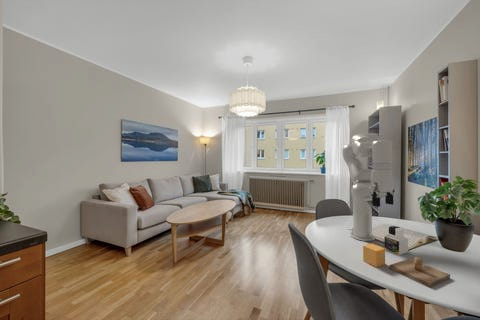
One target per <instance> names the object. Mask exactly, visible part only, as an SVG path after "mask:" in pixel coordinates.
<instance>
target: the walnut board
mask: <svg viewBox="0 0 480 320" xmlns="http://www.w3.org/2000/svg"><path fill="white" fill-rule="evenodd" d="M388 267H389V268H388V269H390V270H392V271H394V272H396V273H398V274H400V275H402V276H404V277H406V278H408V279H411V280H413V281H415V282H416V283H417V282H418V284H421V285H424V286H426V287H427V288H431V287H434V286H436V285H438V284H440V283H442V282H444V281H448V280H449V279H451V274H450V273H448V272H444V271H443V270H439V269H437V268H435V267H432V266H429V265H427V264H424V263H423V259H422V258H421V257H418V256H415V257H414V259H411V258H410V257H409V258H406V259H404V260H401V261H397V262H394V263H391V264H389V266H388Z"/></svg>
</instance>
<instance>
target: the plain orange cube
mask: <svg viewBox="0 0 480 320" xmlns="http://www.w3.org/2000/svg"><path fill="white" fill-rule="evenodd" d="M362 258H363V259H362V260H363V261H362V262H365V263H366V264H369V265H371V266H373V267H375V268H377V267H381V266H384V265H386V250H385V247H382V246H379V245H378V244H377V245H376V244H374V243H368V244H365V245H362Z"/></svg>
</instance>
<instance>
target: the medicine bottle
mask: <svg viewBox="0 0 480 320" xmlns="http://www.w3.org/2000/svg"><path fill="white" fill-rule="evenodd" d="M404 231H405V230H404V228H402V227H400V226H395V225H392V226H389V227H388V234H386V235H384V236H383V237H384V244H383V245H384V248H385V251H388V252H391V253H393V254H395V255H397V256H400V255H403V254H407V253H409V238H408V237H406V236H405V237H404V233H405V232H404Z"/></svg>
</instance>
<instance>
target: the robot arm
mask: <svg viewBox="0 0 480 320" xmlns="http://www.w3.org/2000/svg"><path fill="white" fill-rule="evenodd" d="M350 142H351V143H349V144H346V145H344V146H343V147H342V158H343V160H344V162H345V164H346V166H347V167H348V172H349V176H350V180H351V182H352V183H353V184H354V185H352V186H351V190H350V192H351V193H350V194H351V200H352V215H353V217H352V221H353V224H352V225H349V226H348V229H347V230H349V231H351V232H350V237H352V238H353V239H355V240H358V241H363V242H373V241H375V240H376V236H375V235H373V211H372V210H373V209H372V206H373V207H378V208H379V207H381V202H382V201H384V200H385V204H386V205H392V206H393V205H394V203H395V202H394V201H395V200H394V197H395V190H396V185H395V184H394V176H393V175H394V174H393V143H392V141H391V140H389V139H388V140H387V139H386V140H384V139H382V140H381V139H380V136H379V134H377V133H373V132H372V133H356V134H355V135H353V136H352V138H350ZM357 157H358V158H357ZM359 157H360V158H371V159H372V168H371V169H368V168H367V169H366V168H365V167H364V164H363V162H362V161H361V160H360V159H359ZM367 201H371V202H372V203H371V205H372V206H371V205H370V204H369V203H368V202H367Z"/></svg>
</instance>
